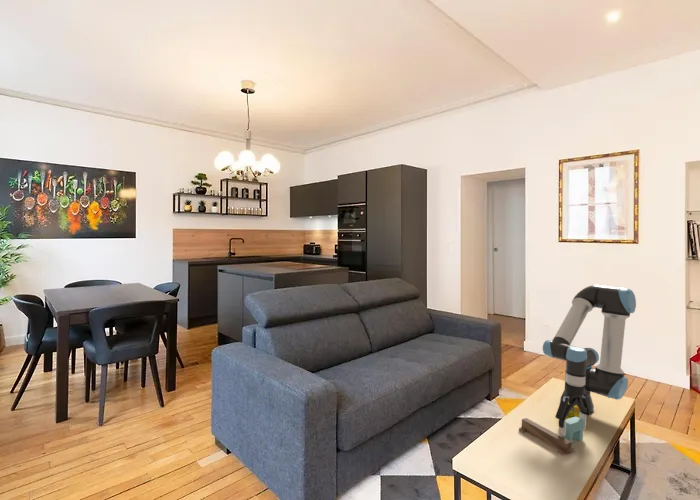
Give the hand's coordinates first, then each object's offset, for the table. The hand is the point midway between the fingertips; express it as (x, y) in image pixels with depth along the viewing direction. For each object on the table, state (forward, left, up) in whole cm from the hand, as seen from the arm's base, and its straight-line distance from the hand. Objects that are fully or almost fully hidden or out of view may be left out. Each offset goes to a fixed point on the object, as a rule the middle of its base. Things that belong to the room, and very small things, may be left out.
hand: (572, 431), depth 167 cm
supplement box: (-10, -8, -4) cm, 14 cm away
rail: (+11, -5, -4) cm, 13 cm away
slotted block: (0, 0, -4) cm, 4 cm away
